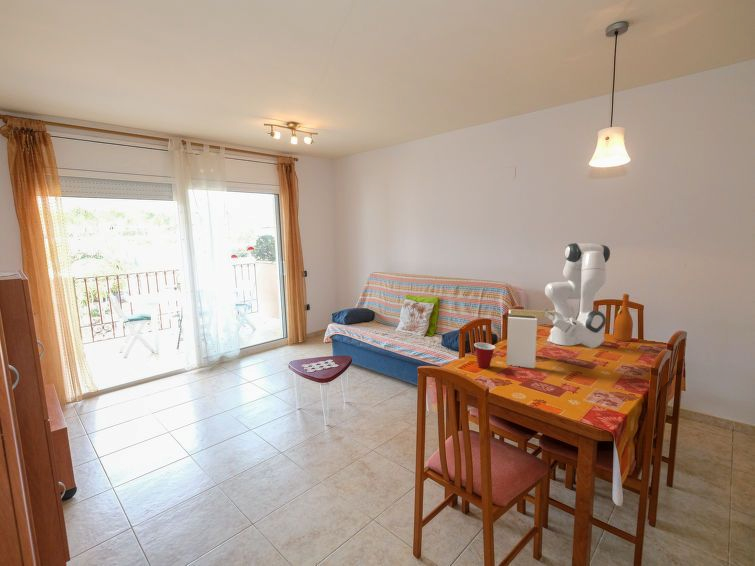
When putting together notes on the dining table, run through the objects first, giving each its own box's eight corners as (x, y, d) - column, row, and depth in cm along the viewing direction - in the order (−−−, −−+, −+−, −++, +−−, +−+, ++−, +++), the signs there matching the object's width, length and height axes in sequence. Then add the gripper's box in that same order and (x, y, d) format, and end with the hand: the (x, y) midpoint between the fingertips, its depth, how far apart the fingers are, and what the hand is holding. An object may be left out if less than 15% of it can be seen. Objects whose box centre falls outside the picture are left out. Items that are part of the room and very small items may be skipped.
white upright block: (507, 352, 211) (508, 309, 207) (533, 355, 206) (535, 310, 202) (506, 365, 191) (508, 317, 187) (534, 368, 186) (537, 319, 182)
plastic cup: (498, 370, 185) (498, 347, 183) (477, 371, 184) (478, 348, 182) (490, 362, 195) (491, 341, 194) (470, 363, 195) (471, 342, 193)
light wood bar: (510, 314, 194) (510, 308, 194) (555, 317, 186) (555, 311, 186) (510, 315, 191) (510, 310, 191) (555, 318, 183) (556, 312, 183)
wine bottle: (617, 336, 238) (621, 292, 234) (634, 340, 230) (638, 294, 225) (610, 339, 233) (613, 293, 228) (627, 342, 224) (631, 296, 220)
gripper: (570, 316, 192) (546, 302, 195) (576, 326, 173) (549, 310, 176) (563, 326, 193) (539, 312, 197) (568, 336, 175) (542, 321, 178)
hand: (544, 311), depth 186 cm, fingers open, 8 cm apart
